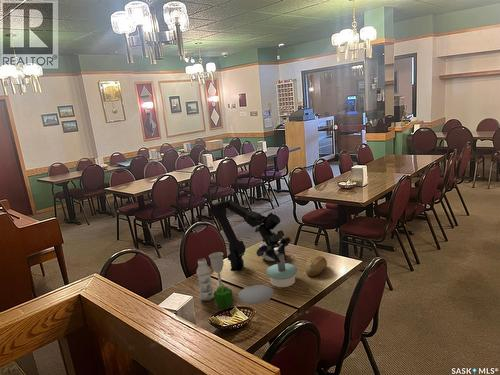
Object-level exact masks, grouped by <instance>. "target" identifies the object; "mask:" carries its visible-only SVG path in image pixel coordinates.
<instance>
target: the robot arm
mask: <svg viewBox="0 0 500 375" xmlns="http://www.w3.org/2000/svg"><path fill="white" fill-rule="evenodd" d="M227 210H229V211H231V212H232V213H234V214H236V215H237V216H239V217H241V218H242V219H244V220H245V222H246V223H247V224H248V225H249V226H250V227H252V228H255V230H254V232H255V233H259V235H260V236H261V238H262V242H263V243H266V245H267V246H266V245H264V246H261V247H259V246H258V249H257V250H256V255H257V257H258V258H260V257H261V256H262V255H263V254H264V252H266V254H265V255H266V256H269V257H271V258H272V259H274V260H275V261H274V262H276V263H277V262H278V263H280V260H279V258H278V257H277V255H276V253H275V251H274V248H276V247H277V248H278V250H277V251H278V252H279V254H280V253H282V254H284V259H285V261H287V255H286V253H285V249H286V247H287V246H288V245H290V243H291V242H292V238H291V237H289V236H285V233H284V231H283V229H281V230H278V231H277V233H275V231H273V230H274V229H275V228H276V227H277V226H278V225H279V224H280V223H281V219H280V217H279V216H278V215H276V214H275V213H272V212H269V213H268V215H267V216H265V215H263V214H261V213H259V212H258V211H253V210H248V209H247V208H245V207H243V206H242V205H240V204H239V203H237V202H235V201H234V200H233V199H231V198H230V199H226V200H225V201H217V202H215V203H213V204H210V207H209V211H210V214H211V215H212V217H214V219H217V221H218V223H219V225H220V227H221V229H222V231H223V233H224V235H225V237H226V239H227V242H228V244H229V245H228V250H229V254H228V255H227V256H226V258H227V260H228V261H230V267H231V268H230V271H242V270H243V269H244V267H245V261H244V259H243V256H244V255H245V253H246V245H245V243H244V242H243V240H239V239H238V238H237V236H236V234H235V232H234V229H233V228H232V227H233V226H232V224H230V221H229V218H228V217H227ZM279 241H280V242H279ZM278 242H279V243H278ZM284 248H285V249H284ZM278 263H277V264H278Z"/></svg>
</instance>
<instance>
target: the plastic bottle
mask: <svg viewBox="0 0 500 375" xmlns="http://www.w3.org/2000/svg"><path fill="white" fill-rule="evenodd" d="M197 265H198V267H197V268H196V276H197V279H198V282H199V297H200V299H201V300H202V301H203V302H208V301H211V300H212V299H214V292H215V291H214V288H213V284H212V279H211V277H212V276H211V272H212V270H211V268H210V266H209V265H208V264H207V259H206V258H200V259H198V260H197Z"/></svg>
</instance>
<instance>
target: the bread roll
mask: <svg viewBox="0 0 500 375" xmlns="http://www.w3.org/2000/svg"><path fill="white" fill-rule="evenodd" d="M327 262H328V261H327V260H326V258H325V257H324V256H321V255H314V256H311V257H310V258H308V260H307V262H306V263H305V266H304V270H305V274H307V276H309V277H312V278H313V277H315V276H318V275H319V274H321V273H323V271H324V270H325V269H326V268H327V266H328V263H327Z"/></svg>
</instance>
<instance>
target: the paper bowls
mask: <svg viewBox="0 0 500 375" xmlns="http://www.w3.org/2000/svg"><path fill="white" fill-rule="evenodd" d="M280 241H281V240H280ZM280 241H279V242H280ZM279 242H278V243H279ZM264 245H266V243H265V242H263V243H261V244H260V245H259V246H258V248H259V247H261V246H264ZM266 246H267V245H266ZM284 249H285V254H286V252H287V251H286V247H285V248H284ZM277 250H278V248H277V247H276V248H274V251H275V253H276V255H277V254H279V252H278V251H277ZM265 254H266V252H264V254H263V255H262V256H260V257H261V258H263V259H264V260H266V261H268V262H276V261H275V260H274V259H272V258H271V257H269V256H266V255H265Z"/></svg>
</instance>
